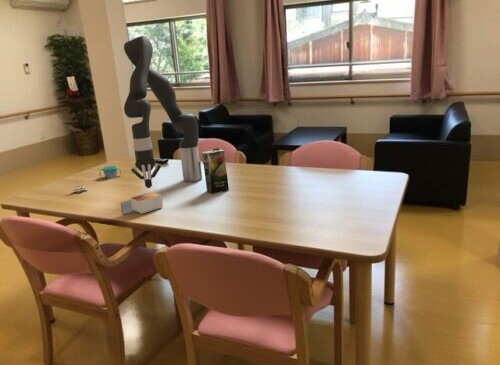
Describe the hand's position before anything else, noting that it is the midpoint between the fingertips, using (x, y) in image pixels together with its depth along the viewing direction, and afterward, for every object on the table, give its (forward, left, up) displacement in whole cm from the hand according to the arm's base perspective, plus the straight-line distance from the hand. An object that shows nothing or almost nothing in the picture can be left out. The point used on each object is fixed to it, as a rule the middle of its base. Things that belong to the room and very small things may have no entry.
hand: (148, 187), depth 175 cm
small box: (-3, +3, -5) cm, 6 cm away
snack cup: (+16, -59, -8) cm, 62 cm away
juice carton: (-31, -5, -8) cm, 33 cm away
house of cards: (+32, -37, -9) cm, 49 cm away
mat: (+6, -2, -8) cm, 10 cm away
